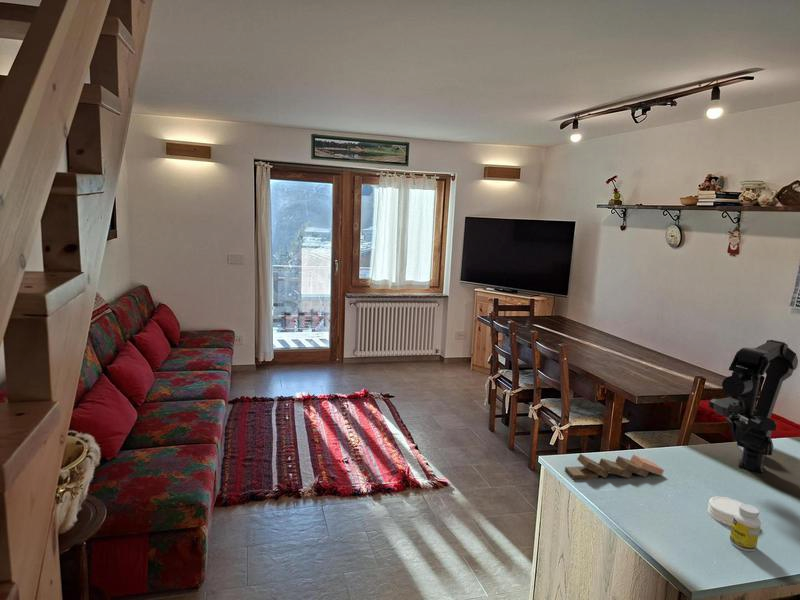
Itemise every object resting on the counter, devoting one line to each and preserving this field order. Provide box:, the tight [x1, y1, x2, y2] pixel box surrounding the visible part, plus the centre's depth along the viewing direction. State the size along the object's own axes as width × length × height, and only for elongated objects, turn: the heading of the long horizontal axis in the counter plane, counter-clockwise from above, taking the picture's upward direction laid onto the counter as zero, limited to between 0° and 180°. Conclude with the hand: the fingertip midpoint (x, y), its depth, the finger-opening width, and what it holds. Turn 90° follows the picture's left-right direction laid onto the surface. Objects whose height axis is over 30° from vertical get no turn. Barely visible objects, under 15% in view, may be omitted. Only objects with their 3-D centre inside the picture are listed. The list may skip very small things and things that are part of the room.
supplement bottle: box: [729, 503, 762, 552], centre depth 123 cm, size 5×5×10 cm
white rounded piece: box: [706, 496, 744, 528], centre depth 135 cm, size 10×10×4 cm
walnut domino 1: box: [564, 465, 599, 481], centre depth 153 cm, size 2×5×8 cm
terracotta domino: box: [630, 454, 665, 476], centre depth 157 cm, size 2×5×8 cm
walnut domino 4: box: [614, 455, 650, 478], centre depth 156 cm, size 2×5×8 cm
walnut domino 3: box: [599, 458, 633, 479], centre depth 155 cm, size 2×5×8 cm
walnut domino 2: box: [576, 453, 610, 479], centre depth 154 cm, size 2×5×8 cm
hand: (735, 440), depth 153 cm, fingers closed
